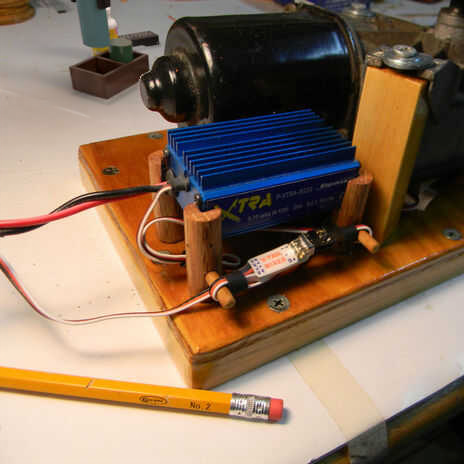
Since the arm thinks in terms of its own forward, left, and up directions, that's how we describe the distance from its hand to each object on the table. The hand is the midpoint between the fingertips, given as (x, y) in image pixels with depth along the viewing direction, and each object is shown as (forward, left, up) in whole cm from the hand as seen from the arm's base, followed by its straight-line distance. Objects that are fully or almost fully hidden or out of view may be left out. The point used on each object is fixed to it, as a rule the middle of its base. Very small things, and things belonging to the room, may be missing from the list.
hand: (91, 3), depth 95 cm
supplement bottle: (-9, +14, -18) cm, 25 cm away
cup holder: (0, +4, -18) cm, 19 cm away
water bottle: (0, 0, -8) cm, 8 cm away
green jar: (0, +8, -18) cm, 19 cm away
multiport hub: (-10, +29, -18) cm, 36 cm away
